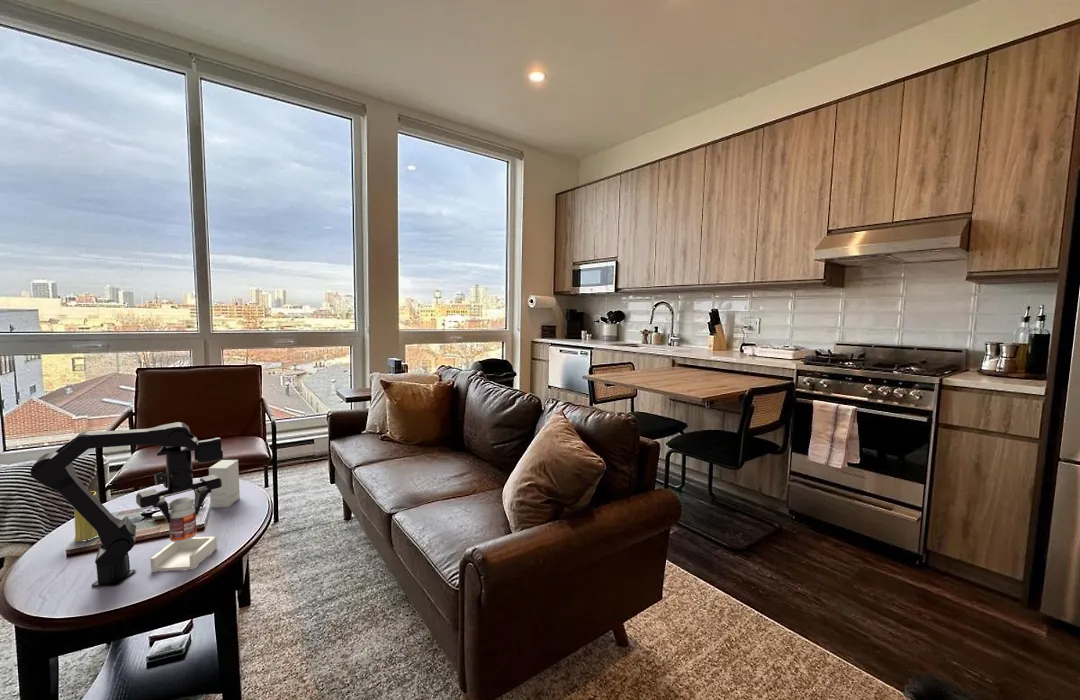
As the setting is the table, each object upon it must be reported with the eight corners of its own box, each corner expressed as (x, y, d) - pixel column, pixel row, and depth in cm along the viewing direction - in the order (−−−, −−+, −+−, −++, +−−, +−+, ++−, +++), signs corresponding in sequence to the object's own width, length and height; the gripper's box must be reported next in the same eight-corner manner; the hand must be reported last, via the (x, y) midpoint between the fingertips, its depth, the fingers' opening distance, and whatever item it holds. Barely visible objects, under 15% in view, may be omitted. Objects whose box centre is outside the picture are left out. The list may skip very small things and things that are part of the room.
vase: (73, 544, 137) (69, 500, 135) (76, 536, 141) (72, 493, 140) (101, 538, 141) (97, 495, 139) (102, 530, 145) (99, 489, 144)
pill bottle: (188, 542, 127) (186, 505, 126) (164, 543, 126) (162, 506, 125) (201, 531, 133) (199, 495, 132) (179, 532, 132) (176, 496, 131)
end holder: (194, 569, 126) (193, 556, 125) (151, 572, 124) (150, 558, 124) (216, 548, 136) (216, 536, 136) (177, 550, 135) (177, 537, 135)
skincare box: (223, 498, 170) (221, 459, 169) (241, 497, 171) (239, 459, 169) (209, 508, 162) (207, 467, 160) (228, 507, 163) (226, 467, 161)
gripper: (208, 452, 140) (211, 499, 141) (129, 469, 125) (133, 521, 126) (221, 460, 133) (223, 509, 135) (139, 479, 118) (143, 534, 120)
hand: (182, 518), depth 129 cm, fingers closed on pill bottle, 6 cm apart
